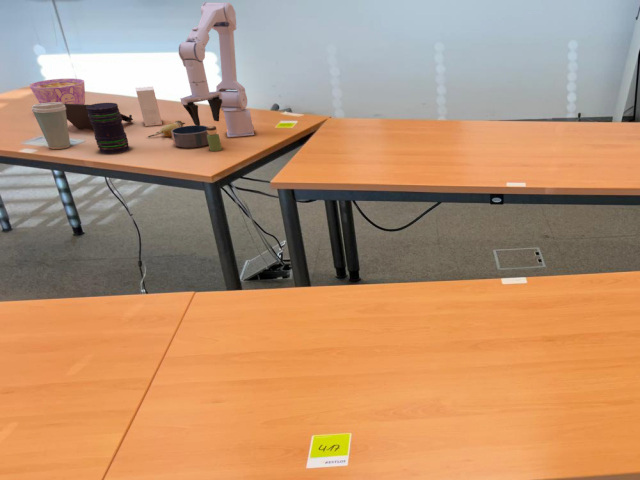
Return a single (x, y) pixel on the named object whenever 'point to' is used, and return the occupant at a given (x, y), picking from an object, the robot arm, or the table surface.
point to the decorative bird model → (168, 129)
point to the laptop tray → (83, 116)
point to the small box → (148, 106)
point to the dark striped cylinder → (108, 128)
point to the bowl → (190, 136)
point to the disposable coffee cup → (53, 123)
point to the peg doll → (213, 139)
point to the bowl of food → (59, 91)
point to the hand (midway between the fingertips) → (207, 123)
